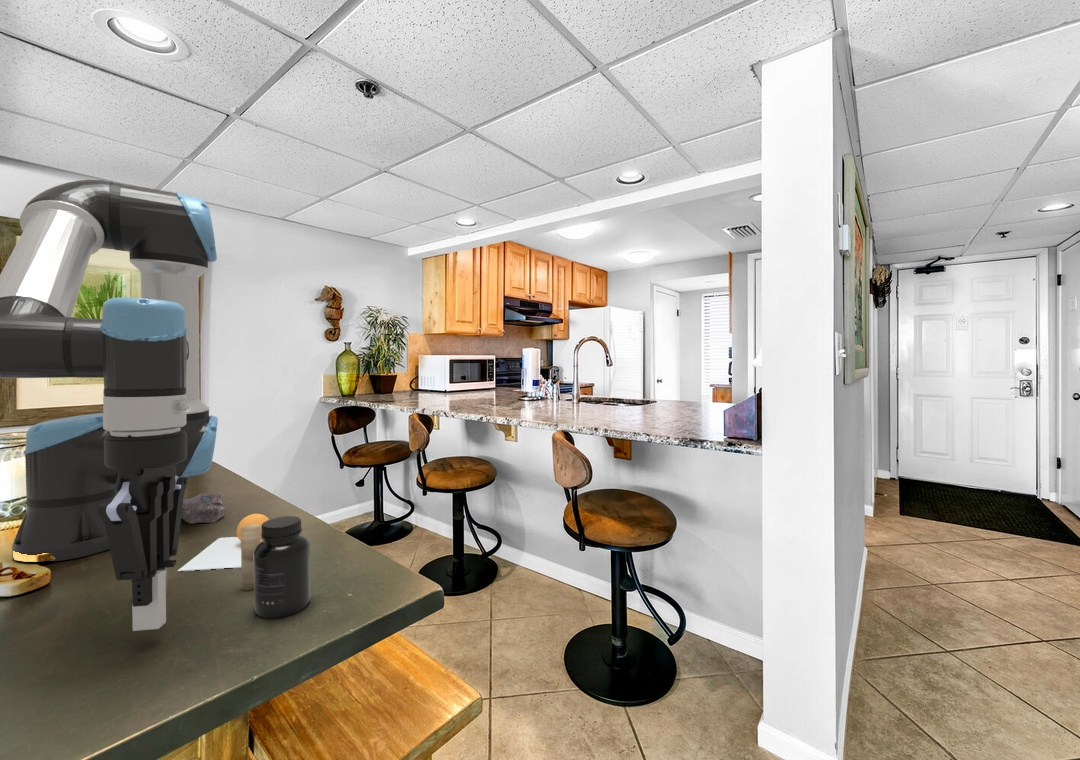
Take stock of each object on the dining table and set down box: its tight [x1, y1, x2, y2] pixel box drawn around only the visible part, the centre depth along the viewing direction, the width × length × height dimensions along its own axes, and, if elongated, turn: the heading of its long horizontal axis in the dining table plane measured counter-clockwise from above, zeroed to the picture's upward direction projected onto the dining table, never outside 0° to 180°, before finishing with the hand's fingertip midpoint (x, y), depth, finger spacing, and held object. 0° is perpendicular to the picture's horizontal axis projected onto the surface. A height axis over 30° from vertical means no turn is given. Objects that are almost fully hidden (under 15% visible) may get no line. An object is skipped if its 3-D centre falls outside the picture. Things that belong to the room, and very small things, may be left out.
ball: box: [236, 513, 270, 542], centre depth 86 cm, size 6×6×6 cm
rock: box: [181, 492, 226, 525], centre depth 100 cm, size 8×11×5 cm
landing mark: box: [177, 536, 241, 573], centre depth 83 cm, size 14×14×1 cm
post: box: [240, 524, 261, 591], centre depth 70 cm, size 2×2×9 cm
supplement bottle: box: [253, 515, 311, 619], centre depth 64 cm, size 7×7×12 cm
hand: (149, 626), depth 56 cm, fingers closed
